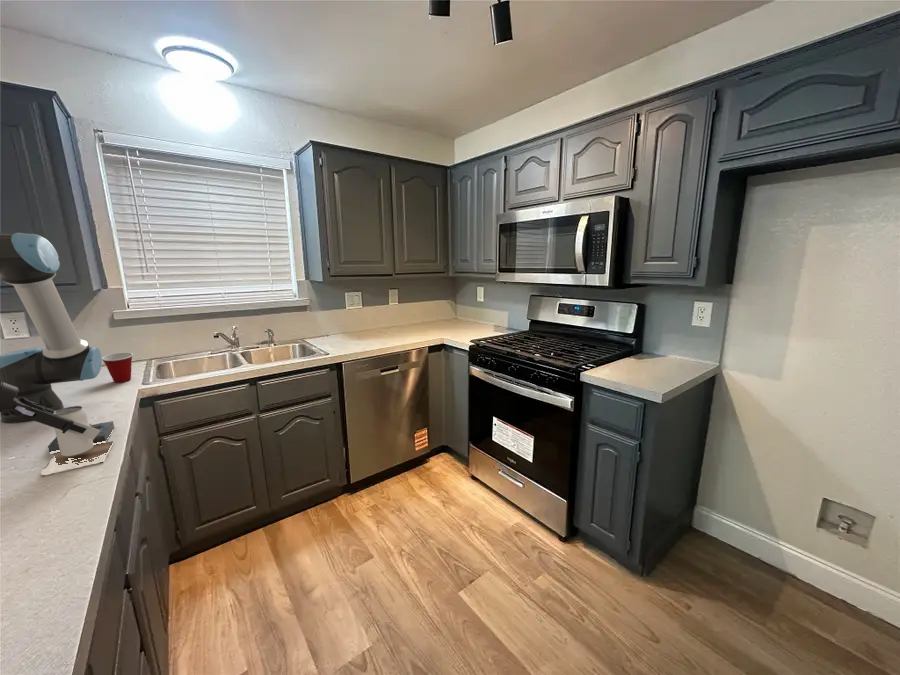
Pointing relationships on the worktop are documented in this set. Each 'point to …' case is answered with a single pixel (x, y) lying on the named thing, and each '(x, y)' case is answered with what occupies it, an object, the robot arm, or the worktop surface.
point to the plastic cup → (119, 366)
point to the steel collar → (102, 436)
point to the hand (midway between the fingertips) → (92, 431)
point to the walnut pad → (85, 454)
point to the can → (70, 441)
